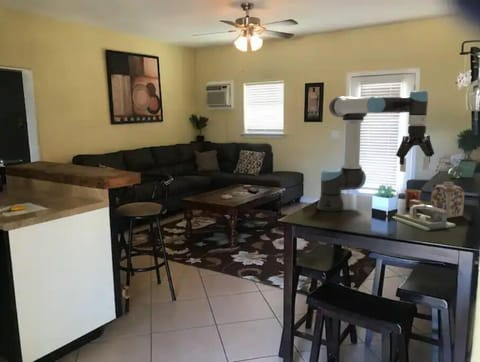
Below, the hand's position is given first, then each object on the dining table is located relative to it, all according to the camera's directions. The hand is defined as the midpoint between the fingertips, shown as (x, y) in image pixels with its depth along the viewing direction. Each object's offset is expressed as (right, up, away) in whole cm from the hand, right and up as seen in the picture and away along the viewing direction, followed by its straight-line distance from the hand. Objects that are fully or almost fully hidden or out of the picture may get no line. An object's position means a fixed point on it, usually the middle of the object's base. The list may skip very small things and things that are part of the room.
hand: (414, 170), depth 181 cm
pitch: (+10, -26, +14) cm, 31 cm away
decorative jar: (+30, -23, +29) cm, 48 cm away
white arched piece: (+11, -24, +17) cm, 31 cm away
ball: (+9, -24, +11) cm, 27 cm away
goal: (+11, -27, +6) cm, 30 cm away
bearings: (+17, -26, +11) cm, 33 cm away
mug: (+19, -21, +44) cm, 52 cm away
